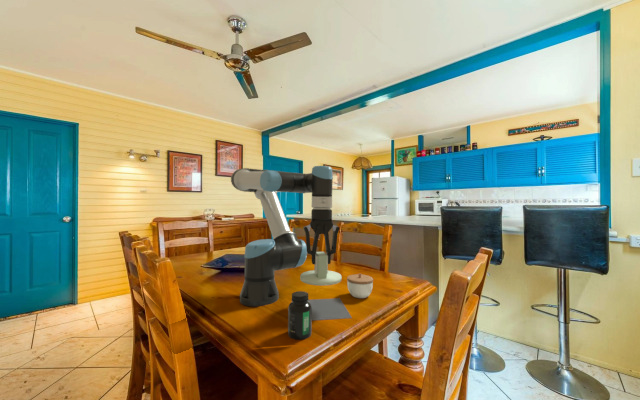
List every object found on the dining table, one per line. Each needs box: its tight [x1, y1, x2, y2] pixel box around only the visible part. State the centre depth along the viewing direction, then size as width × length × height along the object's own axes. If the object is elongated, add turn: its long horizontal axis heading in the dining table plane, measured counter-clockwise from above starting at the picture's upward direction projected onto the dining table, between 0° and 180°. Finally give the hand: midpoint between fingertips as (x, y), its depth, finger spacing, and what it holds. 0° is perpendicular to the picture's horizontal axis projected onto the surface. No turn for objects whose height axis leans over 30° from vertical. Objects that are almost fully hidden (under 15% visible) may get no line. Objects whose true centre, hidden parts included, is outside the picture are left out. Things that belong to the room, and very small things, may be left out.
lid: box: [299, 251, 343, 286], centre depth 94 cm, size 15×15×9 cm
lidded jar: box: [346, 273, 374, 299], centre depth 107 cm, size 11×11×9 cm
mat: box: [308, 297, 353, 321], centre depth 94 cm, size 18×18×1 cm
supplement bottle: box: [287, 290, 313, 341], centre depth 76 cm, size 7×7×12 cm
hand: (320, 272), depth 94 cm, fingers closed on lid, 3 cm apart
